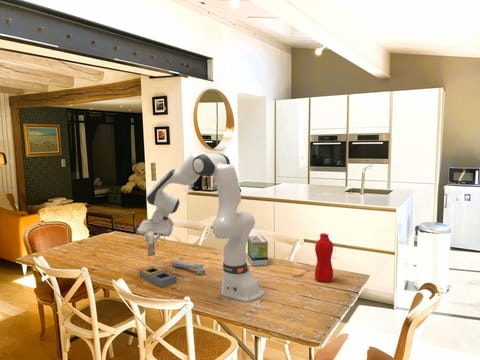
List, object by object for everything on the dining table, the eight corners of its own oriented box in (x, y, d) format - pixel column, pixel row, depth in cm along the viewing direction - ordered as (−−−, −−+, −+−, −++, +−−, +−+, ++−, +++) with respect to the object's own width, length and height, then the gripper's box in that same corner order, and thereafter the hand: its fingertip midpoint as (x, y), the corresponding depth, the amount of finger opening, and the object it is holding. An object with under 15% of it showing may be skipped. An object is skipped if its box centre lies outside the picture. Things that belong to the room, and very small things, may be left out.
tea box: (268, 265, 218) (268, 241, 217) (251, 266, 217) (251, 242, 215) (262, 257, 233) (262, 234, 231) (247, 258, 231) (246, 235, 230)
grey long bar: (177, 258, 222) (206, 261, 207) (178, 269, 223) (207, 272, 207) (170, 260, 218) (199, 263, 202) (172, 271, 219) (201, 275, 203)
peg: (156, 254, 202) (155, 230, 200) (150, 256, 199) (148, 231, 198) (152, 253, 205) (151, 228, 203) (146, 254, 202) (145, 230, 200)
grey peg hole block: (176, 282, 195) (176, 276, 194) (162, 287, 188) (161, 280, 188) (153, 271, 211) (153, 265, 210) (139, 276, 205) (139, 269, 204)
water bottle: (335, 284, 189) (335, 237, 186) (313, 281, 193) (314, 235, 190) (336, 277, 197) (337, 232, 194) (316, 275, 201) (316, 231, 198)
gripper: (141, 216, 210) (131, 237, 202) (172, 218, 203) (163, 240, 195) (146, 221, 214) (136, 242, 207) (176, 224, 207) (168, 245, 199)
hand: (150, 241), depth 201 cm, fingers closed on peg, 4 cm apart
